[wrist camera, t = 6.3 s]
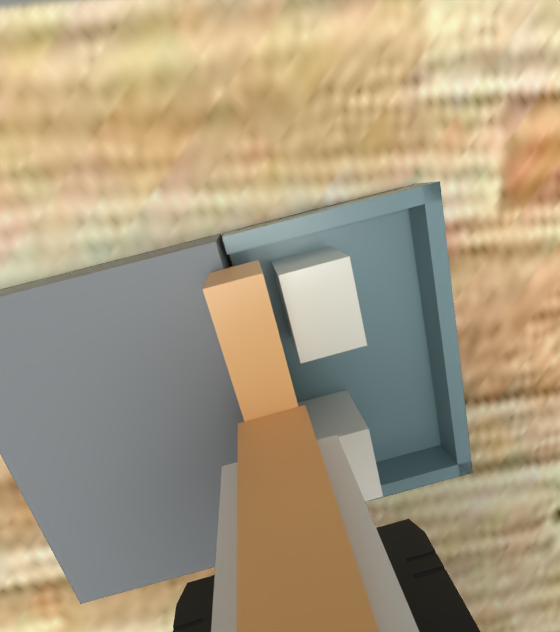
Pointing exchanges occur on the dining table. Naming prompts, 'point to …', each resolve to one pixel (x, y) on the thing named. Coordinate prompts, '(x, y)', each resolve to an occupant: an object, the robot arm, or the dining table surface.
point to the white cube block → (347, 437)
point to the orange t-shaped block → (280, 480)
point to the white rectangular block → (320, 302)
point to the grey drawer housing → (120, 415)
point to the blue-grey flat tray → (383, 327)
